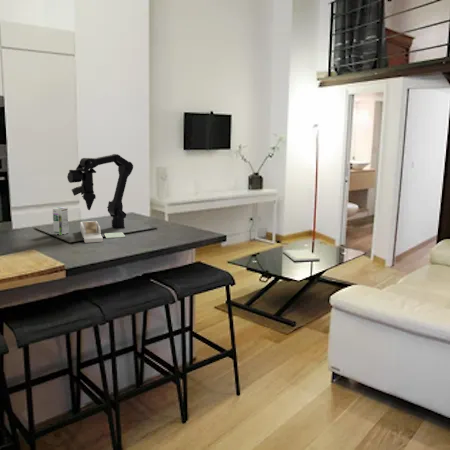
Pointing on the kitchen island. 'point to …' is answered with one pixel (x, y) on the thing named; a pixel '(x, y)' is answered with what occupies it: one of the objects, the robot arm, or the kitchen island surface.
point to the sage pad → (114, 235)
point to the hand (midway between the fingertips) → (88, 209)
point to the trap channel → (91, 236)
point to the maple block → (90, 227)
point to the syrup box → (60, 220)
